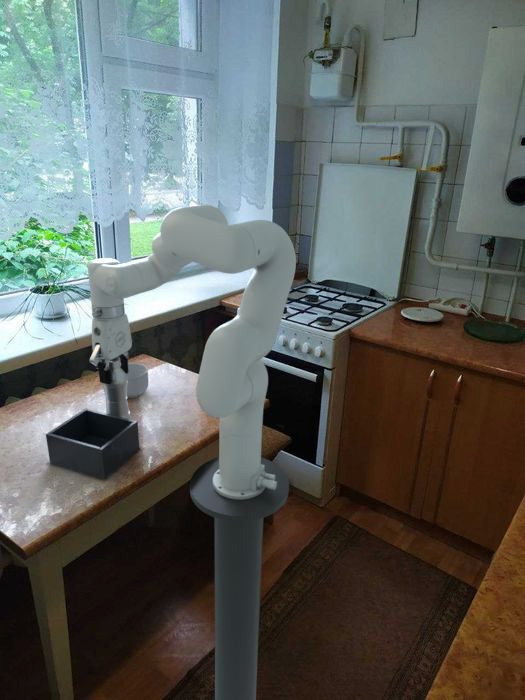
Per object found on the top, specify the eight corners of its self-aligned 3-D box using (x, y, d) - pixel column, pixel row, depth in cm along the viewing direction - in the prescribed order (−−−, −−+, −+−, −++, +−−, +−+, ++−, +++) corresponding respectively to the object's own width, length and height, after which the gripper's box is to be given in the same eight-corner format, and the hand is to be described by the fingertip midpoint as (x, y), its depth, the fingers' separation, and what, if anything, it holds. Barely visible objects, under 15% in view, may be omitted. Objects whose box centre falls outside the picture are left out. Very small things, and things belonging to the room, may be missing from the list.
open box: (139, 449, 123) (137, 421, 120) (104, 480, 112) (101, 449, 109) (88, 435, 128) (85, 408, 125) (50, 463, 117) (45, 434, 114)
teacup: (154, 396, 150) (153, 372, 147) (119, 405, 144) (117, 380, 141) (137, 379, 160) (136, 356, 157) (104, 386, 154) (102, 363, 151)
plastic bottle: (122, 436, 128) (116, 366, 121) (101, 431, 130) (93, 361, 123) (136, 424, 134) (131, 356, 126) (115, 420, 136) (109, 352, 129)
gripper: (98, 323, 111) (105, 394, 118) (142, 303, 126) (146, 367, 133) (71, 318, 114) (79, 388, 120) (117, 299, 129) (122, 363, 135)
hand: (114, 377), depth 126 cm, fingers closed on plastic bottle, 6 cm apart
